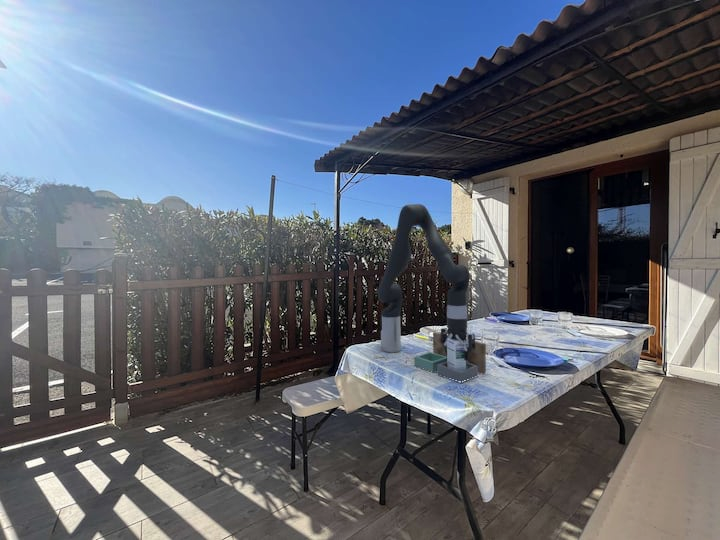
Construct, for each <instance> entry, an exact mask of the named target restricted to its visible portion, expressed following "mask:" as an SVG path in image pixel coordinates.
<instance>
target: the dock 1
mask: <svg viewBox="0 0 720 540" xmlns="http://www.w3.org/2000/svg"><path fill="white" fill-rule="evenodd" d="M413 359H414V367H416V366H417V368H419V367H421V368H420V369H422V368H424V369H426V370H425V371H427V370H429V371H428V372H430V371H432V372H431V373H435V371H436V372H437V365H438V364H441V363H443V362H446V361H447V357H445V356H442V355H439V354H435V353H433V351H432V352H431V351H429V352H425V353H423V354H420V355H418V354H417V355H416V356H414V358H413ZM424 369H423V370H424Z"/></svg>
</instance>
